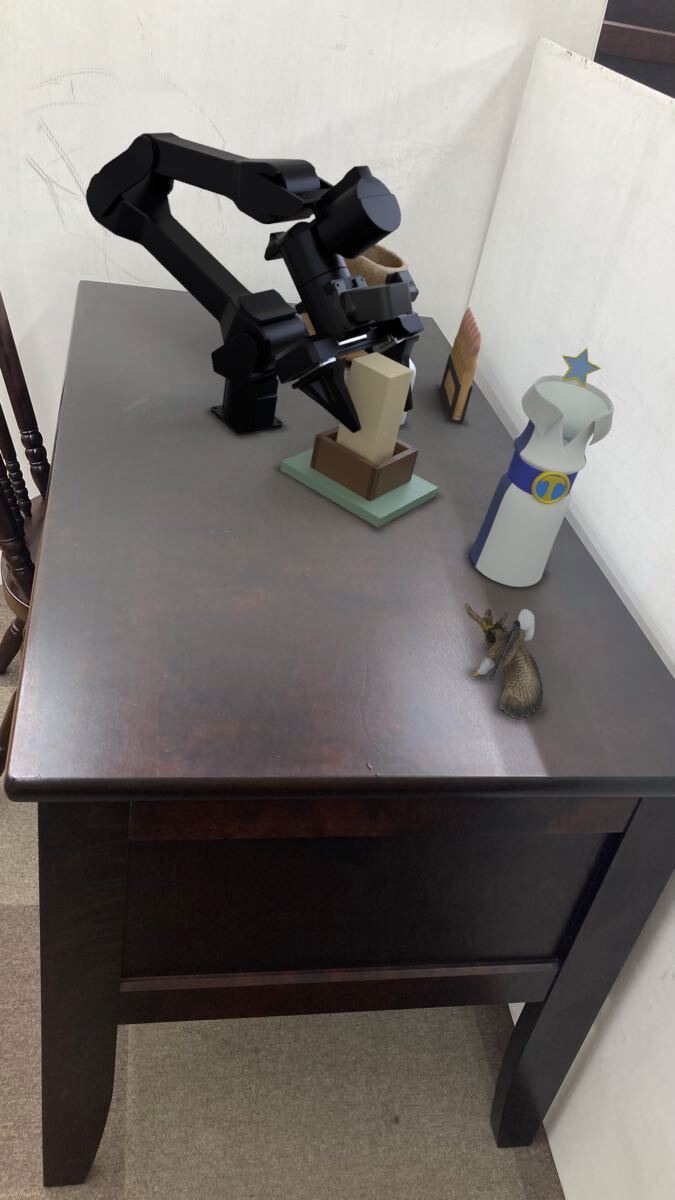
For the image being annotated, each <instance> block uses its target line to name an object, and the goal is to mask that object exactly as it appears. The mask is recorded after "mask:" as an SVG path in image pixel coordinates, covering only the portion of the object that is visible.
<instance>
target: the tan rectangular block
mask: <svg viewBox="0 0 675 1200" xmlns="http://www.w3.org/2000/svg"><path fill="white" fill-rule="evenodd" d="M412 374H413V370H411V369H409V368H407V367H405V366H403V365H401V364H399V363H397V362H395V361H393V360H391V359H389V358H387V357H385V356H383V355H381V354H379V353H377V352H375V353H372V354H368V355H365V356H362V357H358V358H355V359H353V360H352V362H351V365H350V371H349V375H348V381H347V388H348V391H349V393H350V396H351V398H352V401H353V404H354V406H355V409H356V411H357V414H358V417H359V421H360V424H361V430H360V431H358V432H356V433H352V432H351V431H350V430H349V429H347V428H346V427H345V426H344V425H343V424H342V423H341V422H339V425H340V426H339V425H338V426H339V431H338V436H337V441H336V442H337V443H339V444H341V445H343V446H344V447H346V448H348V449H350V450H352V451H353V452H355V453H357V454H359V455H361V456H362V457H364V458H366V459H368V460H370V461H371V462H373V463H375V464H378V463H380V462H382V461H384V460H386V459H388V458H391V457H392V456H393V452H394V448H395V444H396V439H398V435H399V430H400V427H401V425H400V423H401V419H402V415H403V411H404V407H405V403H406V399H407V394H408V390H409V386H410V382H411V378H412Z"/></svg>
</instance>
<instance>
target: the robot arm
mask: <svg viewBox="0 0 675 1200" xmlns="http://www.w3.org/2000/svg"><path fill="white" fill-rule="evenodd" d="M175 181H177V182H180V183H183V184H186V185H189V186H192V187H195V188H198V189H202V190H204V191H206V192H207V191H208V192H210V193H212V194H213V193H214V194H217V195H220V196H222V197H225V198H227V199H228V200H230V201H232V202H233V204H234V205H235V207H236V208H237V210H238V211H239V212H241V213H243V214H244V215H246V216H248V217H249V218H251V219H252V220H253V221H256V222H258V223H260V224H262V225H273V224H281V223H288V222H296V221H297V222H296V223H294V225H292V226H291V227H289V228H288V229H287V230H285V231H284V230H281V231H274V232H270V233H269V238H268V239H269V240H268V243H267V246H266V248H265V250H264V255H263V258H264V260H265V261H267V262H269V261H276V260H281V259H282V260H283V262H284V265H285V266H286V270H287V272H288V273H289V277H290V278H291V280H292V282H293V284H294V285H293V286H294V287H295V289H296V291H297V293H298V296H299V298H300V302H298V303H297V304H295V305H294V307H293V306H292V305H290V304H289V303H288V302H287V301H286V300H285V299H284V297H283V296H282V294H281V293H280V292H278V291H277V290H276V289H274V288H271V289H268V290H267V289H265V290H262V291H257V292H252V291H250V290H249V289H248V288H247V287H246V286H245V285H244V284H243V283H242V282H241V281H240V280H239V279H238V278H236V277H235V275H233V274H232V273H231V271H229V270H228V268H226V267H225V266H224V264H222V262H220V261H219V260H218V258H216V257H215V256H214V255H213V254H212V253H211V252H210V251H209V250H208V249H207V248H206V247H205V246H204V245H203V244H202V243H201V242H200V241H199V240H198V239H196V237H195V236H194V235H193V234H192V233H191V232H189V230H188V229H186V227H184V226H183V225H182V224H181V223H180V222H179V221H178V220H177V219H176V218H175V217H174V215H173V214H172V210H171V205H170V200H169V195H170V194H171V192H173V190H174V186H175ZM85 201H86V205H87V207H88V211H89V212H90V214H91V216H92V218H93V219H94V221H95V222H96V223H98V224H99V225H100V226H102V227H103V228H104V229H105V230H107V231H108V232H110V233H111V234H113V235H114V236H117V237H119V238H122V239H124V240H127V241H130V242H133V243H136V244H138V245H140V246H142V247H143V248H144V249H145V250H146V251H147V252H148V253H149V254H150V255H151V256H152V257H153V258H154V259H155V260H156V261H157V262H158V263H159V264H160V265H161V266H162V267H163V268H164V269H165V270H166V271H167V272H168V273H169V274H170V275H171V276H172V277H173V278H174V279H175V280H176V281H177V282H178V283H179V284H180V285H181V286H182V287H183V288H184V289H185V290H186V291H187V292H188V293H189V294H190V295H191V296H192V297H193V298H194V299H195V300H196V301H197V302H198V303H199V304H200V305H201V306H202V307H203V308H204V309H205V310H206V311H207V312H208V313H209V314H210V315H211V316H212V317H213V318H214V319H215V320H217V322H218V323H219V328H220V334H221V339H222V342H223V344H222V345H221V346H219V347H217V348H216V349H215V350H213V351H212V352H211V353H210V354H211V355H210V356H211V364H212V370H213V372H214V373H215V374H217V375H219V376H221V377H223V378H224V387H223V395H222V396H223V397H222V404H219V405H213V406H211V409H210V411H211V413H212V414H213V415H215V417H217V418H218V419H219V420H220V421H222V423H224V424H225V425H226V426H227V427H228V428H229V429H230V430H232V431H233V432H234V433H235V434H237V435H246V434H247V435H248V434H252V433H257V432H262V431H269V430H273V429H279V428H283V425H284V422H283V420H281V419H279V417H277V416H276V410H277V405H278V404H277V403H278V398H279V396H278V389H279V384H280V385H286V384H288V383H292V382H293V383H292V384H291V388H292V389H293V390H299V391H300V392H302V393H303V394H305V395H306V396H307V397H309V399H311V400H312V401H314V402H315V403H317V404H318V405H319V406H321V408H323V409H324V410H325V411H327V412H328V413H329V414H330V415H331V416H333V418H335V419H336V420H337V421H338V422H339V423H340V422H341V423H342V424H343V425H344V426H345V427H346V428H347V429H349V430H350V431H351V432H352V433H356V432H358V431H360V430H361V424H360V421H359V417H358V414H357V411H356V409H355V406H354V404H353V401H352V398H351V396H350V393H349V391H348V388H347V386H348V384H347V383H346V380H345V372H346V371H345V370H346V365H347V364H346V363H347V361H346V357H345V358H342V359H339V360H338V359H335V358H337V357H341V356H344V355H347V354H350V353H354V352H357V351H360V350H363V349H364V351H365V352H366V353H368V354H372V353H375V352H377V353H379V354H381V355H383V356H385V357H387V358H389V359H391V360H393V361H395V362H397V363H399V364H401V365H403V366H405V367H407V368H409V369H410V363H409V358H410V359H411V353H412V351H413V348H414V345H415V344H416V343H417V342H418V341H419V340H420V334H419V333H421V332H422V331H424V330H425V328H424V325H423V323H422V321H421V318H420V315H419V314H418V312H417V311H414V310H413V303H414V302H415V301H416V300H417V298H418V296H419V292H420V291H419V289H418V287H417V286H416V282H415V281H414V278H413V277H412V276H411V274H410V272H409V269H408V270H405V271H398V272H393V273H389V274H387V276H386V280H385V284H380V285H375V286H369V287H368V286H367V284H366V282H365V280H364V278H363V277H362V276H360V274H359V275H354V276H351V275H350V272H349V270H348V268H347V266H346V263H345V261H344V259H343V257H344V258H347V259H355V258H357V257H358V256H360V255H361V254H362V253H364V252H365V251H367V250H368V249H370V248H371V247H372V246H374V245H375V244H379V243H380V242H381V241H382V240H384V239H385V238H387V237H388V236H390V235H391V234H392V233H394V232H395V231H396V230H398V229H399V227H400V226H401V222H402V211H401V207H400V204H399V200H398V199H397V197H396V195H395V194H394V193H392V192H391V190H390V189H389V188H388V187H387V186H386V184H385V183H384V182H383V181H381V180H380V179H379V178H377V177H376V176H374V175H373V174H372V172H371V169H370V167H369V165H354V166H352V168H351V169H349V170H348V171H347V172H346V173H345V174H344V176H343V177H342V178H341V180H339V181H338V182H337V183H336V184H332V183H330V182H328V181H327V180H325V179H324V178H322V177H320V176H318V174H317V172H316V167H315V166H314V165H313V164H312V163H311V162H310V161H308V160H305V159H300V158H250V157H246V156H243V155H239V154H236V153H233V152H231V151H226V150H223V149H219V148H216V147H212V146H209V145H206V144H204V143H203V144H202V143H199V142H197V141H192V140H189V139H185V138H183V137H180V136H178V135H176V134H175V133H173V132H143V133H141V134H140V135H137V137H136V138H134V139H133V141H132V142H131V143H130V145H129V146H128V147H127V148H126V149H125V150H123V151H122V152H121V153H120V154H118V155H117V156H115V157H113V158H112V159H110V160H109V161H108V162H107V163H105V164H104V165H103V166H102V167H101V169H100V170H98V172H96V173H94V174H93V176H91V178H90V180H89V183H88V187H87V188H86V191H85ZM312 216H314V218H313V219H312V220H311V221H304V220H306V219H307V220H308V219H310V218H311V217H312ZM302 220H303V221H302ZM305 313H307V314H308V317H309V319H310V321H311V323H312V326H313V328H314V330H315V332H316V334H314V335H306V331H307V328H306V325H305V323H304V321H303V320H302V318H300V317H299V316H300V315H302V314H305ZM294 381H296V382H294ZM279 382H280V383H279ZM413 408H414V402H413V390H411V382H410V386H409V390H408V394H407V399H406V403H405V407H404V412H407V413H408V412H409V411H411V410H413Z"/></svg>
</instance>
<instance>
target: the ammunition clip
mask: <svg viewBox="0 0 675 1200" xmlns="http://www.w3.org/2000/svg"><path fill="white" fill-rule="evenodd" d="M477 323H478V322H477V321H476V317H474V315H473V312H472V309H471V307H470V306H469V307H468V308H467V309H466V311H465V312H464V314H463V316H462V319H461V322H460V325H459V328H458V331H457V333H456V335H455V338H454V341H453V345H452V349H451V353H449V354H448V357H447V360H446V364H445V368H444V372H443V376H442V380H441V383H440V385H439V389H440V393H441V396H442V400H443V403H444V404H443V405H444V409H445V411H446V414H447V419H448V421H449V422H454V423H460V424H462V423H464V420H465V417H466V412H467V409H468V405H469V402H470V399H471V394H472V391H473V387H474V386H473V381H474V377H475V374H476V370H477V366H478V359H479V353H480V350H481V343H482V334H481V332H480V328H479V326H478V325H477Z"/></svg>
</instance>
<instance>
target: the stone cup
mask: <svg viewBox="0 0 675 1200" xmlns="http://www.w3.org/2000/svg"><path fill="white" fill-rule="evenodd" d="M343 259H344V261H345V263H346V266H347V268H348V270H349V272H350V275H351V276H354V275H359V274H360V276H362V277H363V278H364V280H365V282H366V284H367V286H368V287H369V286H375V285H380V284H385V280H386V276H387V274H389V273H393V272H398V271H405V270H408V271H409V269H408V264H407V263H406V261H405V260H404V259H403V258H402V257H401V256H400V255H398V254H397V253H396V252H395V251H393V250H391V249H390V248H389V249H388V248H387V247H386V246H385V245H382V244H380V243H377V244H375V245H374V246H372V247H371V248H370V249H368V250H367V251H365V252H364V253H362V254H361V255H360V256H358V257H357V258H355V259H347V258H344V257H343ZM301 318H302V322H303V324H304V326H305V328H306V331H307V332H308V336H310V335H314V334H316V332H315V330H314V328H313V326H312V323H311V321H310V319H309V317H308V314H307V313H305V314H301ZM365 355H368V353H366V352H365V351H364V349H363V350H360V351H357V352H354V353H350V354H347V355H344V356H341V357H337V358H335V359H336V360H339V359H342V358H345V357H346V362H351V363H352V360H353V359H355V358H358V357H362V356H365Z"/></svg>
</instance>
